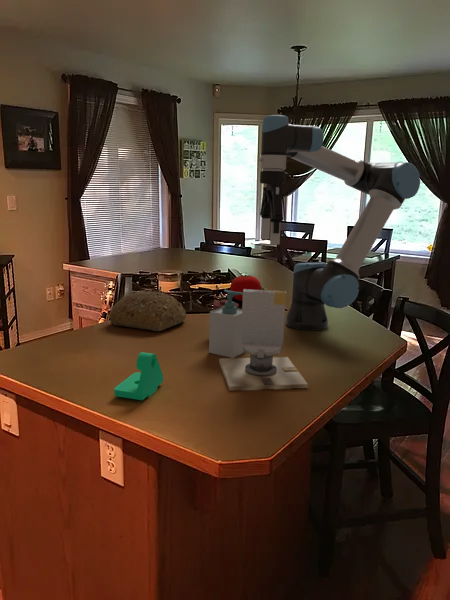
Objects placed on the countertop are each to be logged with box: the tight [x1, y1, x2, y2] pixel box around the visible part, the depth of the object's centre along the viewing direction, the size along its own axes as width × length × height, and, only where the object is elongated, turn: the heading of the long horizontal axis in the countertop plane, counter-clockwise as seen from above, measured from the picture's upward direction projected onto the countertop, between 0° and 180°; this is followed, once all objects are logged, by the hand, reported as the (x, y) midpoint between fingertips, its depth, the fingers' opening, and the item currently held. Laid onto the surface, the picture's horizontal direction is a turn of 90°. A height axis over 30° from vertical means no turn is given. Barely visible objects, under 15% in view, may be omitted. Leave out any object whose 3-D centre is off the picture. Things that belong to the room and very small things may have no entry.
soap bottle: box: [208, 289, 245, 358], centre depth 151 cm, size 9×9×19 cm
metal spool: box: [245, 354, 277, 376], centre depth 135 cm, size 8×8×6 cm
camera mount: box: [113, 351, 164, 401], centre depth 121 cm, size 12×8×10 cm, turn 164°
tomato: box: [229, 274, 263, 303], centre depth 218 cm, size 13×14×12 cm
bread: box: [108, 289, 187, 332], centre depth 179 cm, size 24×21×12 cm
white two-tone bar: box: [241, 289, 287, 358], centre depth 132 cm, size 13×11×16 cm
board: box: [218, 356, 309, 392], centre depth 135 cm, size 20×20×2 cm
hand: (269, 241), depth 155 cm, fingers open, 13 cm apart
